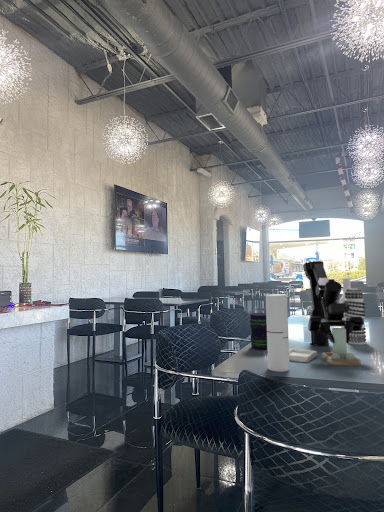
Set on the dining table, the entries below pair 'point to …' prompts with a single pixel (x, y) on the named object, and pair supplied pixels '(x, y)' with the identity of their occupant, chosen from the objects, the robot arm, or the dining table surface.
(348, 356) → the pebble
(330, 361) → the wooden tray
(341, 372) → the dining table surface
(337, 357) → the white ball
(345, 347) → the sage green tall cylinder
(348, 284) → the bottle
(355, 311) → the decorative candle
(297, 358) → the white tray
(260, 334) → the storage jar
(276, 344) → the cylindrical container
